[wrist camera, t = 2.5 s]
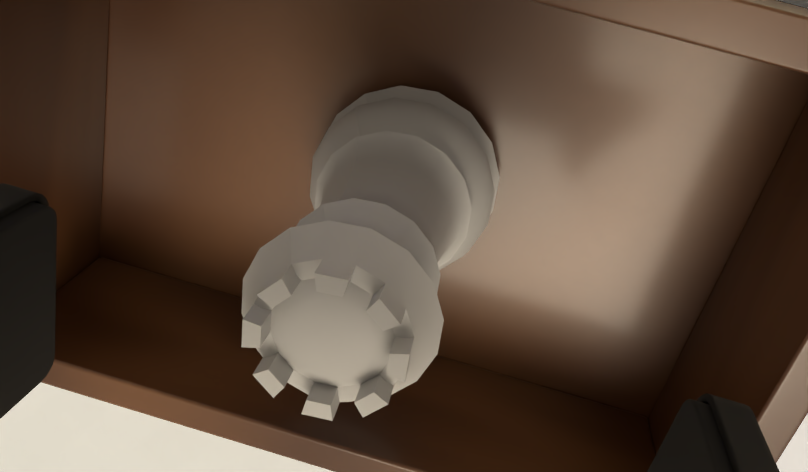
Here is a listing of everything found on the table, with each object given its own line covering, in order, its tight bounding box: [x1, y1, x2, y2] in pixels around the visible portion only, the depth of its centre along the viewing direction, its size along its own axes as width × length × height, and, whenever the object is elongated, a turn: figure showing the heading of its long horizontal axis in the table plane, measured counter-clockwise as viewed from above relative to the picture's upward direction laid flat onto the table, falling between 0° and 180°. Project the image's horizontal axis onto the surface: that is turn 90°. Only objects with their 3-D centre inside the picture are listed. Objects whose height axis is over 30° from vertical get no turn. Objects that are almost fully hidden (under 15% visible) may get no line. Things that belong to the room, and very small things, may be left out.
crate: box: [0, 0, 808, 472], centre depth 15 cm, size 18×12×5 cm, turn 77°
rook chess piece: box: [241, 86, 500, 421], centre depth 14 cm, size 4×4×8 cm
